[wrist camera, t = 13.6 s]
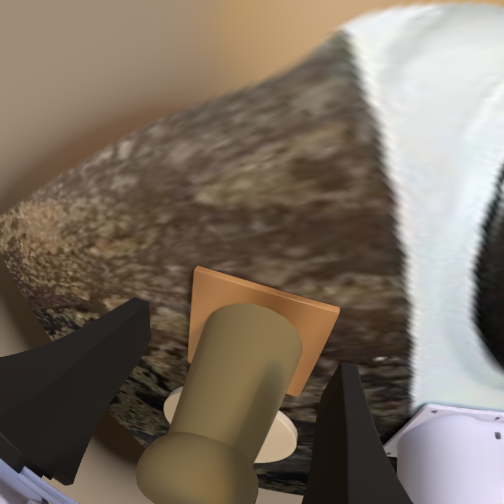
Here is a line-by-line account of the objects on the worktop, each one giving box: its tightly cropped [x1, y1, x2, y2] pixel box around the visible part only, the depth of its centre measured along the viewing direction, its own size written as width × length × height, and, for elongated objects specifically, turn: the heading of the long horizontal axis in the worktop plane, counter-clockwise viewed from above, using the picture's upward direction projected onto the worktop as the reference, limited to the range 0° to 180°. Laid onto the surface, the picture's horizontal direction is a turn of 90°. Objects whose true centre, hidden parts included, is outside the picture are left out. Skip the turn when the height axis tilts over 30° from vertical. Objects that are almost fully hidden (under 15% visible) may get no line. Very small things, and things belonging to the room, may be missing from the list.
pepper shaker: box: [136, 303, 303, 504], centre depth 14 cm, size 6×6×11 cm
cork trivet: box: [188, 266, 340, 397], centre depth 19 cm, size 8×8×1 cm
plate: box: [164, 386, 298, 463], centre depth 25 cm, size 12×12×1 cm
